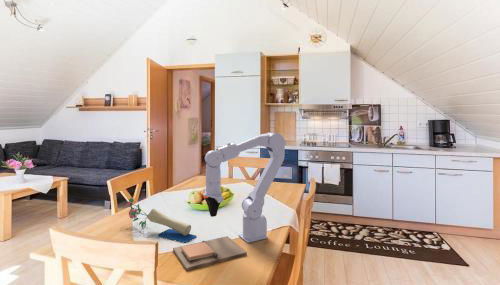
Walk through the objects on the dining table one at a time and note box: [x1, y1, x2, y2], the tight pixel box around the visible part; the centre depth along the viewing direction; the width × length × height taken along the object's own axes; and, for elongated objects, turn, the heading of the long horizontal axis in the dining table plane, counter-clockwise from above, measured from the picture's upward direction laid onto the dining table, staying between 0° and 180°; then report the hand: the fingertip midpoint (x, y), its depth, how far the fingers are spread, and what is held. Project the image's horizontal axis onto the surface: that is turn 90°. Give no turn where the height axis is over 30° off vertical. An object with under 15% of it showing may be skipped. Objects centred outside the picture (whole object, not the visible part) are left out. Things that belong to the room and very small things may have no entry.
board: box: [172, 235, 248, 272], centre depth 104 cm, size 22×16×2 cm
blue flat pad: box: [158, 228, 197, 244], centre depth 118 cm, size 7×1×15 cm
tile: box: [181, 242, 214, 261], centre depth 101 cm, size 9×9×1 cm
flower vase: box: [126, 196, 192, 236], centre depth 126 cm, size 12×12×35 cm
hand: (213, 215), depth 112 cm, fingers closed
